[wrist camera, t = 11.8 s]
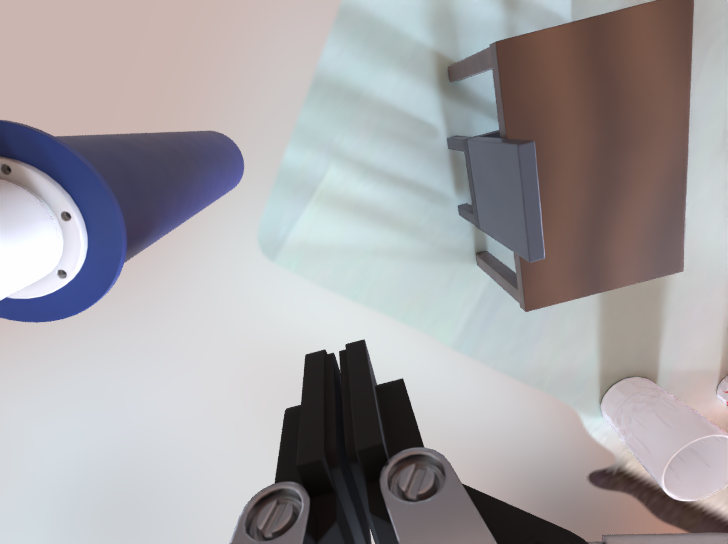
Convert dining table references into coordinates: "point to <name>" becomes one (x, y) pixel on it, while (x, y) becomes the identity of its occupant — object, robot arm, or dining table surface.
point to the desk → (598, 146)
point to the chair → (503, 191)
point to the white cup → (668, 438)
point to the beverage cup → (723, 390)
